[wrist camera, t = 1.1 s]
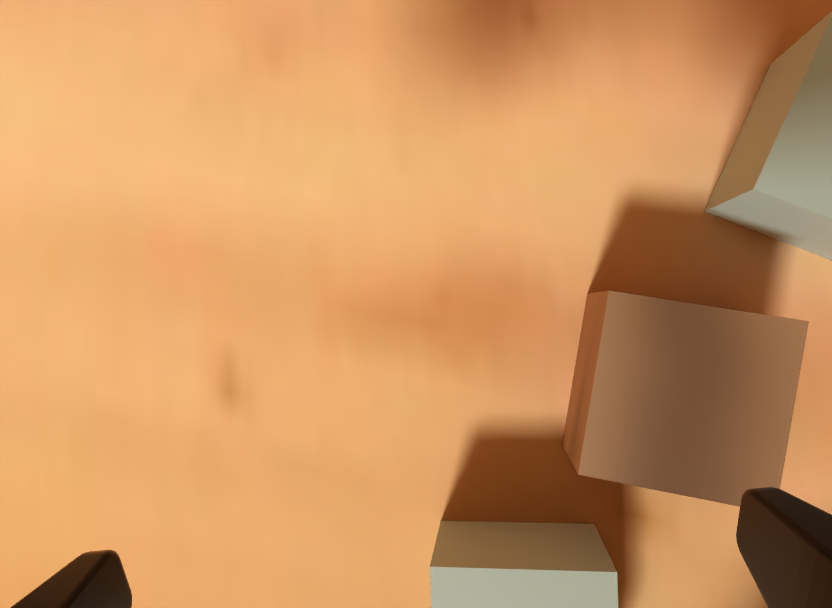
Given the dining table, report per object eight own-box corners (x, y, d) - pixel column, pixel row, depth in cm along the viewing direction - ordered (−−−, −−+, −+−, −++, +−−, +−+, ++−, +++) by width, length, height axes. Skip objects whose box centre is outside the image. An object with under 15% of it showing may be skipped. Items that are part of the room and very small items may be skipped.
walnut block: (746, 318, 20) (808, 321, 16) (720, 472, 20) (775, 513, 16) (586, 293, 21) (608, 290, 17) (561, 443, 21) (577, 474, 17)
